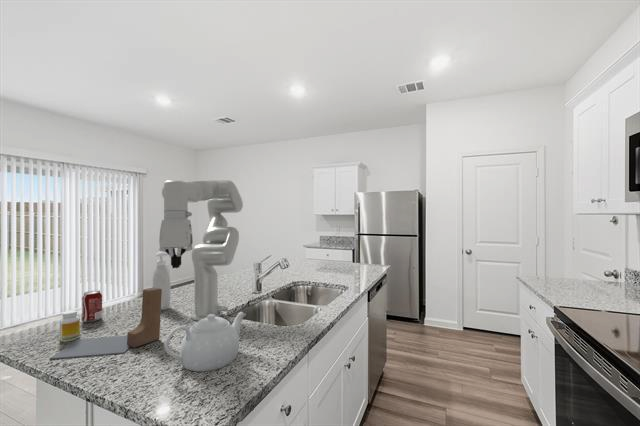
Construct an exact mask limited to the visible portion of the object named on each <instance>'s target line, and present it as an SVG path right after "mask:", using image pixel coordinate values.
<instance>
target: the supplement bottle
mask: <svg viewBox="0 0 640 426" xmlns="http://www.w3.org/2000/svg"><path fill="white" fill-rule="evenodd" d="M80 322H81V321H80V317H79V316H78V311H77V310H73V309H72V310H67V311H65V312H62V318H61V319H60V321H59V340H60V342H65V343H66V342H72V341H76V340H78V339H80V336H81V335H80V334H81V331H80V330H81V329H80V327H81V324H80Z"/></svg>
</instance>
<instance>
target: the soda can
mask: <svg viewBox="0 0 640 426" xmlns="http://www.w3.org/2000/svg"><path fill="white" fill-rule="evenodd" d="M102 318H103V294H102V293H101V291H100V289H99V290H89V291H85V292H84V293H83V296H82V297H81V320H82V321H81V322H85V323H93V322H92V321H94V322H97V320H98V321H99V320H100V319H102Z"/></svg>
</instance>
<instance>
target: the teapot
mask: <svg viewBox="0 0 640 426" xmlns="http://www.w3.org/2000/svg"><path fill="white" fill-rule="evenodd" d="M245 316H247V314H246V313H244V312H243V311H240V312H238V313H237V315H236V317H235V318H234V320H233V322H232V324H231V323H230V321H228V320H227V319H225V318H224V317H221V316H219V317H215V315H214V314H210V315H208V316H207V318H204V319H201V320H199V321H196V322H195V323H193V324H192V325H191V327H190V328H188V327H187V326H185V325H178V326H176V327H174V328H172V329H171V330H170V332H168V334H167V336H166V338H165V340H164V350H165V351H166V353H167V354H168V355H169V356H170V357H172V358H175V359H177V362H178V364H179V365H182V366H183V367H184V368H185V369H187V370H189V371H191V372H192V371H193V372H210V371H215V370H218V369H222V368H223V367H227V365H230V364H231V363H232V362H233V361H234V360H235V359H236V357H237V356H238V354H239V349H240V333H241V326H242V320H243V318H244V317H245ZM180 330H184V331H185V333H186V334H185V335H184V337H183V339H182V341H181V343H180V347H179V354H177V353H176V352H173V351H172V350H171V349H170V348H169V344H170V341H171V338H172V337H173V335H174V334H175V333H176V332H177V331H178V332H179V331H180Z"/></svg>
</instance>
